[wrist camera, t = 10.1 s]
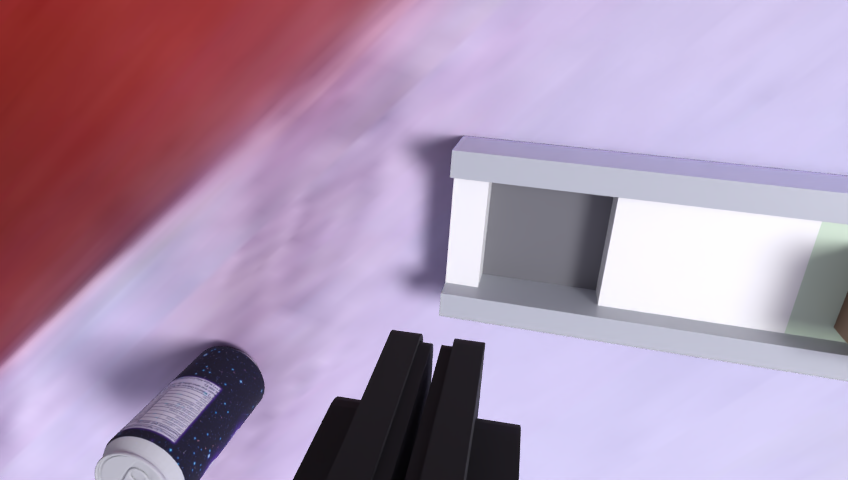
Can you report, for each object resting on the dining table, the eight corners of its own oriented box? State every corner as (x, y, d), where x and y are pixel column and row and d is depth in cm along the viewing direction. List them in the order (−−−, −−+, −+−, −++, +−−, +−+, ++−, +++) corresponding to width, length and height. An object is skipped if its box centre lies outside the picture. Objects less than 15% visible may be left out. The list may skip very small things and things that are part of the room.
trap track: (463, 135, 35) (451, 150, 31) (1174, 209, 28) (1264, 239, 25) (450, 286, 38) (438, 315, 35) (1075, 381, 32) (1141, 428, 29)
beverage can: (191, 375, 46) (76, 488, 35) (219, 326, 44) (104, 431, 33) (251, 415, 46) (155, 540, 35) (282, 368, 44) (189, 487, 33)
